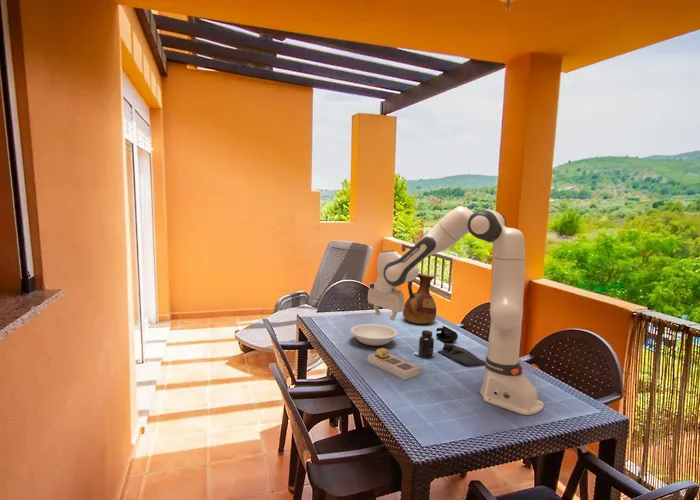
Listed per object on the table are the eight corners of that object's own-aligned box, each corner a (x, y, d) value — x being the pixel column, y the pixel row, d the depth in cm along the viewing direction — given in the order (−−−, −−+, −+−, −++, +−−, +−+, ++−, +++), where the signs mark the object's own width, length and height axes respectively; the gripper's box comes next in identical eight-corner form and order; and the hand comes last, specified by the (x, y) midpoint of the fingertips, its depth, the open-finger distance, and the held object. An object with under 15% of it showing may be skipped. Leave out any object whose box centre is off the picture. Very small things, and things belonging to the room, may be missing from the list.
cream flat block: (420, 374, 172) (420, 367, 171) (404, 379, 166) (404, 372, 165) (383, 357, 190) (383, 351, 189) (367, 361, 184) (367, 355, 183)
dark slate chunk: (462, 369, 180) (463, 359, 180) (435, 352, 201) (435, 342, 200) (490, 365, 186) (491, 355, 185) (461, 349, 206) (461, 340, 206)
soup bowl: (344, 348, 200) (345, 335, 199) (355, 333, 223) (356, 321, 222) (393, 354, 194) (394, 340, 193) (399, 338, 217) (400, 326, 217)
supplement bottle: (432, 359, 189) (434, 334, 188) (417, 358, 191) (419, 333, 189) (432, 354, 196) (434, 330, 195) (418, 353, 197) (419, 328, 196)
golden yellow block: (388, 363, 183) (389, 350, 182) (382, 365, 180) (382, 352, 180) (382, 360, 186) (383, 347, 185) (375, 362, 183) (376, 349, 183)
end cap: (457, 343, 214) (458, 331, 213) (445, 344, 211) (446, 332, 210) (446, 337, 223) (447, 325, 222) (435, 338, 220) (436, 326, 220)
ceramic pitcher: (441, 326, 244) (444, 276, 240) (410, 327, 238) (413, 277, 235) (426, 317, 263) (429, 271, 259) (397, 318, 257) (400, 271, 254)
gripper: (408, 290, 173) (407, 322, 175) (376, 282, 189) (375, 311, 191) (398, 291, 169) (396, 324, 171) (366, 283, 185) (364, 313, 187)
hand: (384, 317), depth 181 cm, fingers open, 8 cm apart
